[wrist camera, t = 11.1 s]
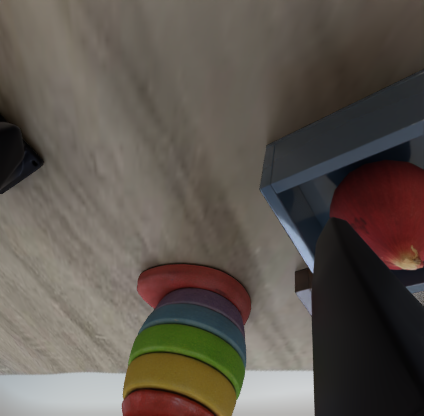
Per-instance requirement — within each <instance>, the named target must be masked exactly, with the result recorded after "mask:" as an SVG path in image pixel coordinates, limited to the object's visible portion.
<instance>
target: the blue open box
mask: <svg viewBox="0 0 424 416" xmlns="http://www.w3.org/2000/svg"><path fill="white" fill-rule="evenodd" d="M382 160H394V161H404V162H409V163H412V164H414V165H416V166H418V167H420V168H422V169H424V69H423V70H421V71H419V72H417V73H415V74H413V75H411V76H409V77H406V78H404V79H402V80H400V81H398V82H396V83H394V84H392V85H390V86H388V87H386V88H384V89H382V90H380V91H378V92H376V93H373V94H371V95H369V96H367V97H365V98H363V99H361V100H359V101H357V102H355V103H353V104H351V105H349V106H347V107H345V108H343V109H340V110H338V111H336V112H334V113H332V114H330V115H328V116H326V117H324V118H322V119H320V120H318V121H316V122H314V123H312V124H310V125H307V126H305V127H303V128H301V129H299V130H297V131H295V132H293V133H291V134H289V135H287V136H285V137H283V138H281V139H279V140H277V141H274V142H272V143H270V144H268V145H266V152H265V158H264V164H263V170H262V176H261V182H260V188H259V190H260V191H261V193H262V194H263V196H264V198H265V199H266V201H267V202H268V204H269V206H270V207H271V209H272V210H273V212H274V213H275V215H276V217H277V218H278V220H279V221H280V223H281V225H282V226H283V228H284V229H285V231H286V232H287V234H288V236H289V237H290V239H291V240H292V242H293V244H294V245H295V247H296V248H297V250H298V252H299V253H300V255H301V256H302V258H303V259H304V261H305V263H306V264H307V266H308V267H309V269H310V271H311V272H312V274H313V269H314V259H315V249H316V243H317V240H318V238H319V236H320V234H321V232H322V230H323V228H324V227H325V225H326V223H327V221H328V220H329V219H330V215H329V213H330V205H331V201H332V198H333V194H334V191H335V189H336V188H337V187H338V185H339V184H340V183H341V182H342V181H343V179H344V178H345V177H346V176H347V175H348V174H349V173H350V172H352V171H353V170H355V169H357V168H359V167H361V166H362V165H364V164H368V163H373V162H377V161H382ZM423 263H424V261H423ZM390 270H391V271H392V272H393V273H394V275H395V276H396V277H397V278H398V279H399V280H400V281H401V282H402V283H403V285H404V286H405V287H406V288H407V289H408V290H409V291H410V292H411V293H416V292H420V291H424V266H423V268H418V269H416V270H405V269H401V270H394V269H390Z"/></svg>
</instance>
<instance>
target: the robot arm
mask: <svg viewBox="0 0 424 416" xmlns="http://www.w3.org/2000/svg"><path fill="white" fill-rule="evenodd" d="M35 161H36V162H37V163H36V162H35ZM41 166H43V160H42V159H41V158H40V156H39V155H38V154H37V153H36V152H35V151H34V150H33V149H32V148H31V147H30V146H29V145H28V144H27V142H26V141H25V140H24V139H23V138H22V134H21V130H20V128H19V127H18V126H16V125H13V124H10V123H8V122H7V121H6V120H5V119H4V118H3V117H2V116H1V115H0V194H3V193H4V192H6V191H7V190H9V189H10V188H12V187H13V186H14V185H16V184H17V183H19V182H20V181H22V180H23V179H24V178H26V177H27V176H29V175H30V174H32V173H33V172H35V171H36V170H37V169H39V168H40V167H41ZM311 305H312V339H313V372H314V404H315V416H424V307H423V306H422V305H421V304H420V302H419V301H418V300H417V299H416V298H415V297H414V296H413V295H412V294H411V292H410V291H409V290H408V289H407V288H406V287H405V286H404V285H403V283H402V282H401V281H400V280H399V279H398V278H397V277H396V276H395V275H394V273H393V272H392V271H391V270H390V269H389V268H388V267H387V266H386V264H385V263H384V262H383V261H382V260H381V259H380V258H379V257H378V256H377V254H376V253H375V252H374V251H373V250H372V249H371V248H370V247H369V245H368V244H367V243H366V242H365V241H364V240H363V239H362V238H361V237H360V235H359V234H358V233H357V232H356V231H355V230H354V229H353V228H352V226H351V225H350V224H349V223H348V222H347V221H346V220H343V219H339V218H336V217H331V218H330V219H329V220H328V221H327V223H326V225H325V227H324V228H323V230H322V232H321V234H320V236H319V238H318V240H317V243H316V249H315V259H314V269H313V279H312V291H311Z"/></svg>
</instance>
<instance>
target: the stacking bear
mask: <svg viewBox="0 0 424 416" xmlns="http://www.w3.org/2000/svg"><path fill="white" fill-rule="evenodd" d="M137 291H138V293H139V294H140V296H141V297H142V298H143V299H144V300H145V301H146V302H147V303H148V304H149V305H150V306H152V307H153V308H154V311H153V312H152V313H151V314H150V315H149V316H148V318H147V319H146V321H145V322H144V324H143V326H142V327H141V329H140V331H139V333H138V336H137V337H136V339H135V341H134V344H133V347H132V350H131V354H130V358H129V362H128V369H127V373H126V377H125V382H124V388H123V398H124V401H123V403H122V412H123V416H232V413H233V410H234V407H235V404H236V400H237V399H238V397H239V394H240V391H241V388H242V384H243V380H244V375H245V367H246V344H245V332H244V325H245V323H246V321H247V319H248V317H249V314H250V310H251V301H250V298H249V295H248V293H247V291H246V290H245V289H244V287H243V286H242V285H241V284H240V283H239V282H238V281H236V280H235V279H234V278H232V277H231V276H229V275H227V274H226V273H224V272H221V271H219V270H216V269H212V268H209V267H203V266H197V265H186V264H174V265H164V266H159V267H155V268H152V269H149V270H146V271H144V272H143V273H141V274H140V276H139V278H138V285H137Z"/></svg>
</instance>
